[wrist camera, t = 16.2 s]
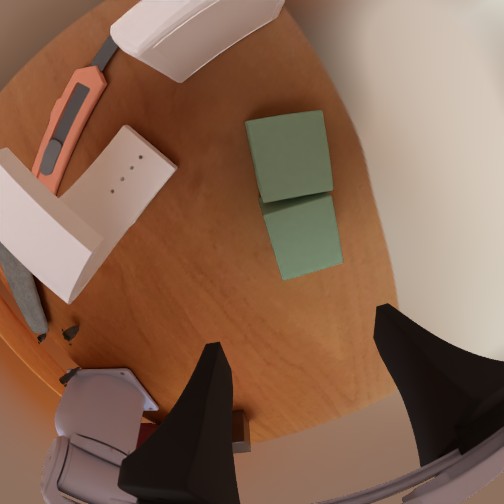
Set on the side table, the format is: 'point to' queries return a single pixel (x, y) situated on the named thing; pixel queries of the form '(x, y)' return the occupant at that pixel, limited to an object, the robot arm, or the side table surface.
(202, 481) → the robot arm
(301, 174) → the green block
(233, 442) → the dark brown block
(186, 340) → the side table surface
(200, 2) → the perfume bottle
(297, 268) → the sage green cube
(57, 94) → the side table surface
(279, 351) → the side table surface
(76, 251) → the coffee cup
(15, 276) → the stone
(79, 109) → the utility knife
